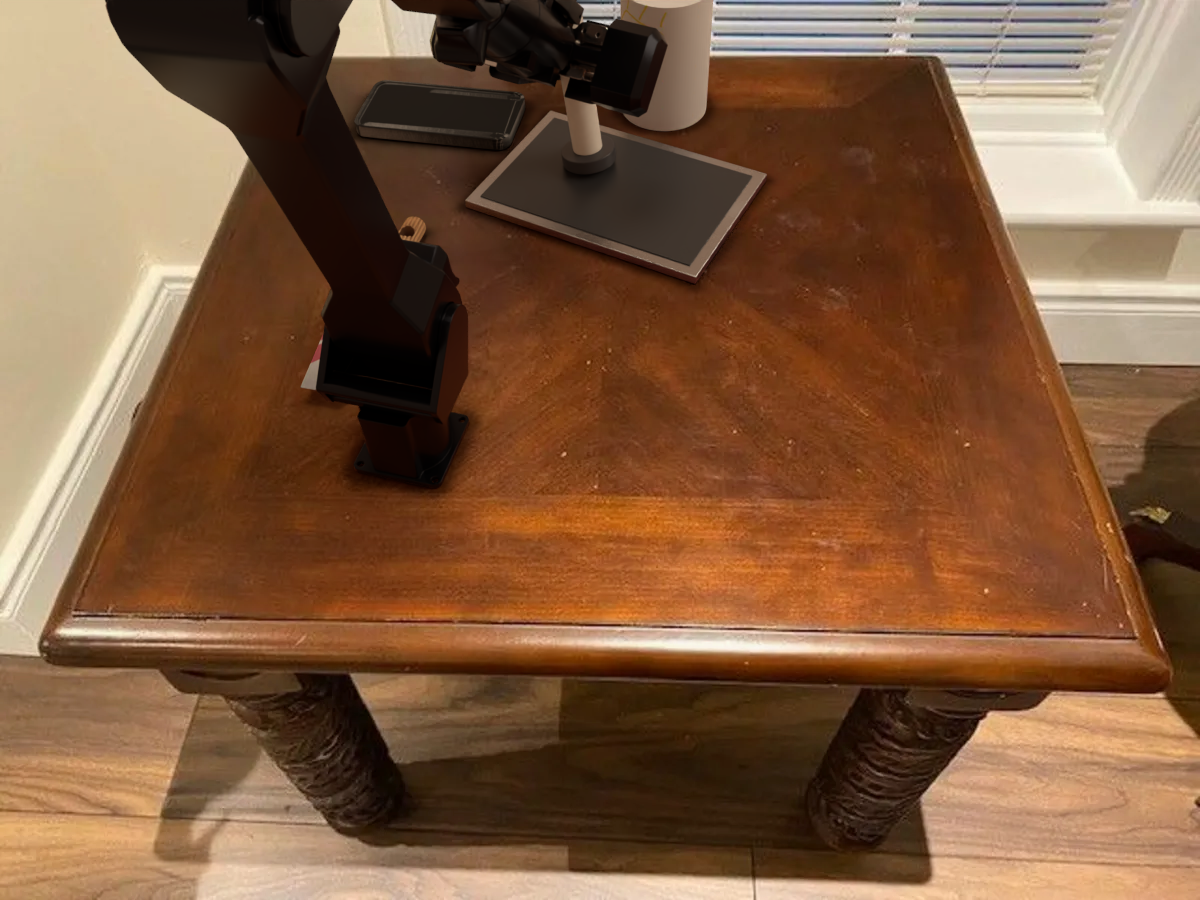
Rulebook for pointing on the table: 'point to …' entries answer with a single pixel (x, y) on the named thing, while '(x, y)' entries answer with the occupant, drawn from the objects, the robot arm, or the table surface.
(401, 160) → the table surface
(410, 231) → the paintbrush
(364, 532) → the table surface
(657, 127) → the cup
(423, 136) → the phone
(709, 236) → the tablet
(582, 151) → the peg on round base
